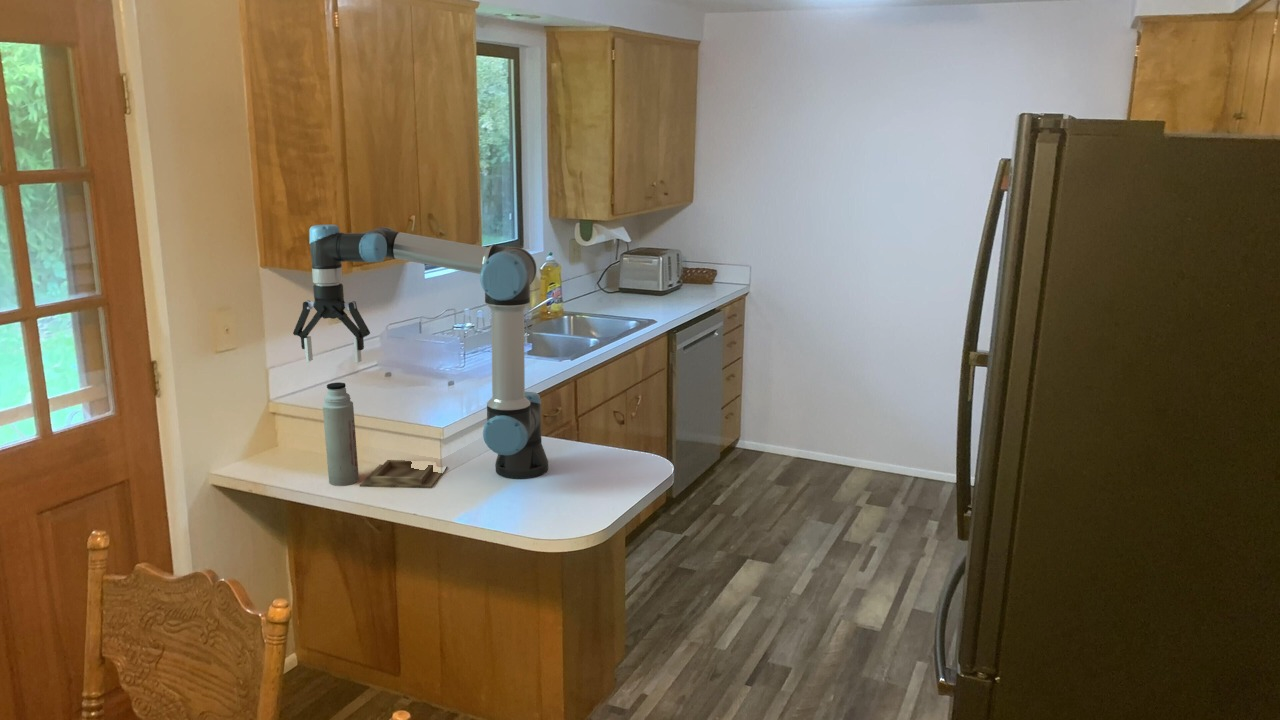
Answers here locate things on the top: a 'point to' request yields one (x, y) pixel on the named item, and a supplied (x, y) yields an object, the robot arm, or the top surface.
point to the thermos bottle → (340, 436)
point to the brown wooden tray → (401, 476)
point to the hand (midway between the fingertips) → (333, 361)
